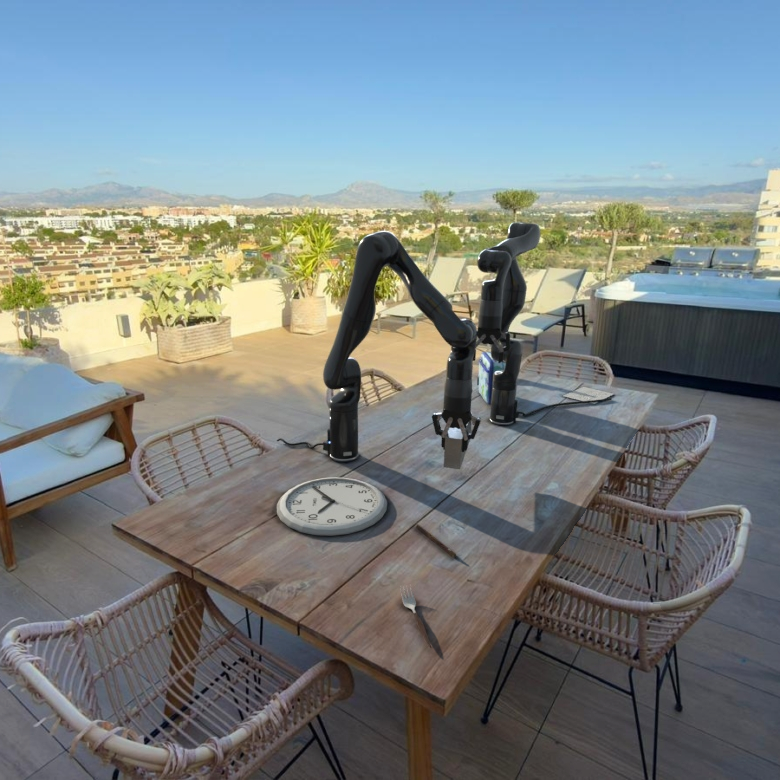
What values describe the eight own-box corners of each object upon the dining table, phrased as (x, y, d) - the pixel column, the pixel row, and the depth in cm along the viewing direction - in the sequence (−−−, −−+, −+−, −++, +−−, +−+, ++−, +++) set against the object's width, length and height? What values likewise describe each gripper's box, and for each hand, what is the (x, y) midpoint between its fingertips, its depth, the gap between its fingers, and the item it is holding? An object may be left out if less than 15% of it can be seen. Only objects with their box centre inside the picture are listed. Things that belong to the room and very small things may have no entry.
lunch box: (475, 390, 246) (478, 346, 240) (498, 390, 246) (501, 347, 240) (484, 408, 221) (487, 360, 215) (509, 409, 221) (513, 360, 215)
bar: (455, 437, 168) (457, 410, 166) (470, 439, 167) (472, 412, 165) (443, 467, 147) (445, 437, 145) (460, 469, 146) (462, 439, 144)
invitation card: (583, 386, 254) (614, 393, 243) (583, 387, 254) (614, 394, 244) (562, 395, 239) (594, 403, 229) (562, 396, 239) (594, 404, 229)
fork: (423, 651, 94) (424, 642, 93) (398, 593, 109) (398, 585, 108) (437, 648, 95) (437, 639, 94) (410, 591, 109) (411, 583, 109)
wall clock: (392, 527, 129) (268, 531, 127) (391, 533, 130) (269, 537, 127) (383, 473, 158) (282, 475, 155) (383, 478, 158) (282, 480, 156)
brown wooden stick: (415, 527, 132) (415, 524, 132) (417, 527, 133) (417, 523, 132) (454, 558, 121) (454, 554, 120) (455, 557, 121) (456, 553, 121)
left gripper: (429, 394, 141) (426, 451, 147) (482, 399, 138) (478, 458, 143) (434, 386, 148) (432, 441, 154) (485, 391, 145) (481, 448, 150)
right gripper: (467, 313, 169) (464, 362, 174) (511, 316, 166) (507, 366, 171) (470, 310, 176) (467, 357, 181) (513, 313, 173) (509, 360, 178)
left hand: (454, 449), depth 148 cm, fingers closed on bar, 4 cm apart
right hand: (486, 361), depth 176 cm, fingers open, 8 cm apart
